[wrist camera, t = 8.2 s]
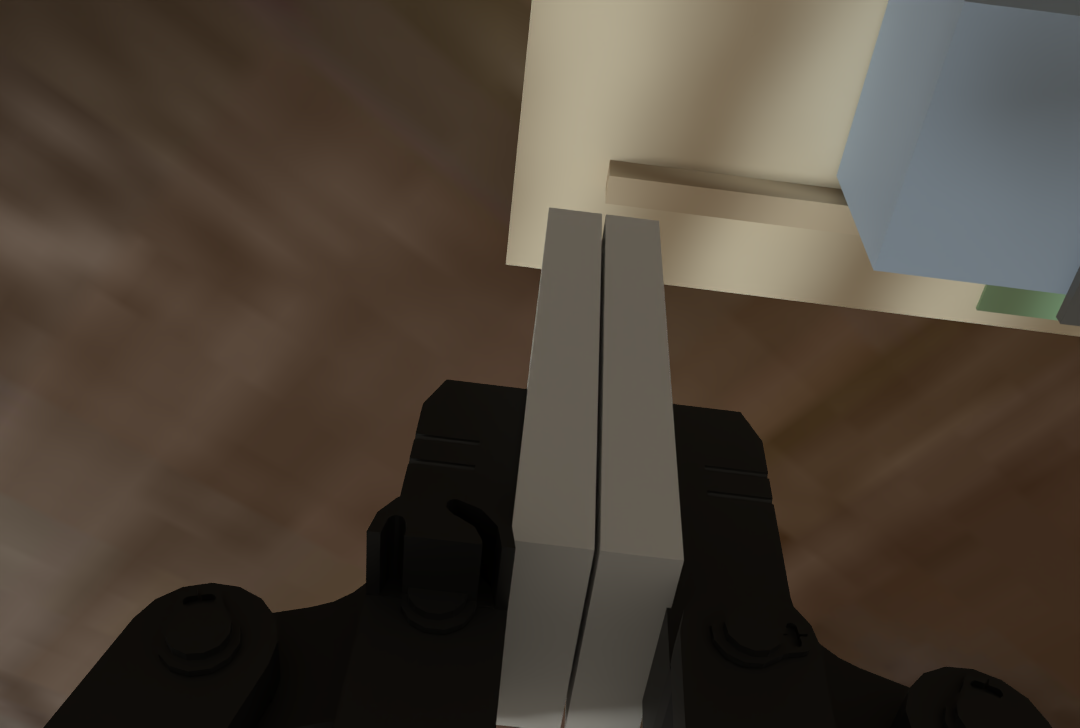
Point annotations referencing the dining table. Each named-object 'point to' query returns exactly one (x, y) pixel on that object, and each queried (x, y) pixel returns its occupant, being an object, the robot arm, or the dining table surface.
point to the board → (722, 149)
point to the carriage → (972, 145)
